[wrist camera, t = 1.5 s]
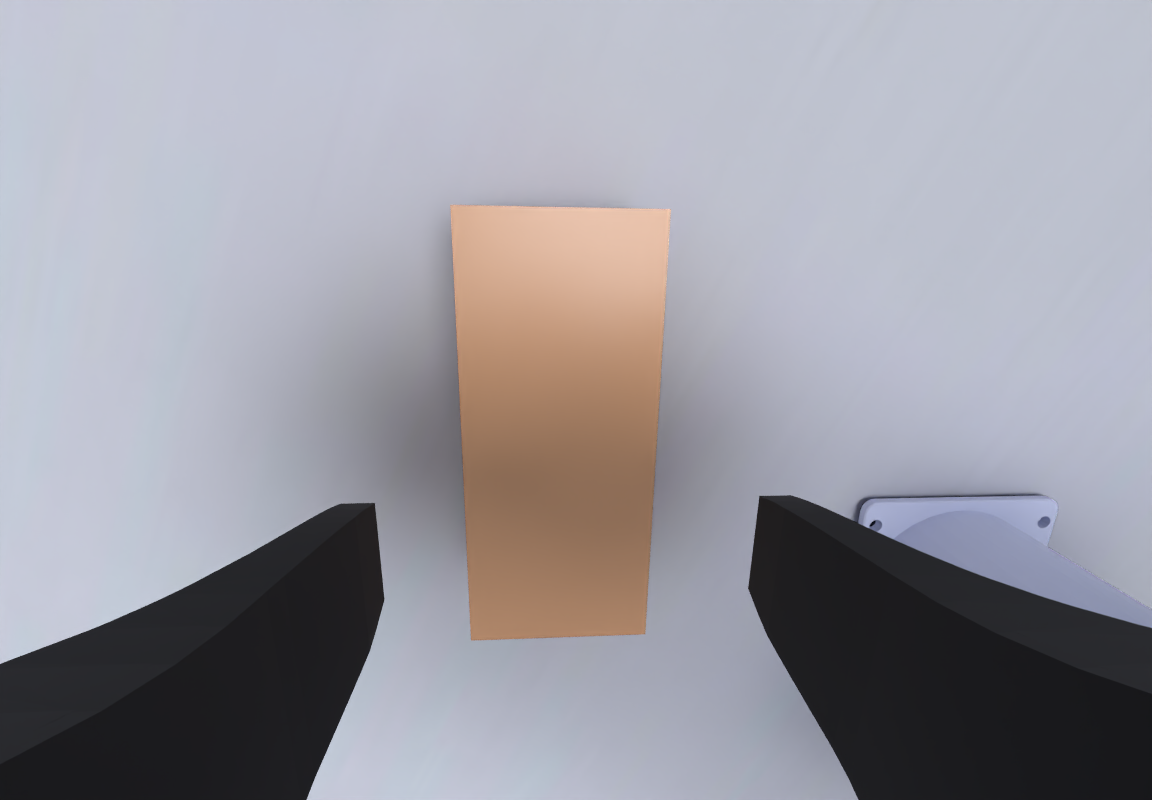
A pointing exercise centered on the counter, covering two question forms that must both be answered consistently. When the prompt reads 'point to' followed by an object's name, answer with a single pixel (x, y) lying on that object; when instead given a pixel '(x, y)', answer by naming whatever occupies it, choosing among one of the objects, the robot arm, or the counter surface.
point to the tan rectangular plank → (559, 413)
